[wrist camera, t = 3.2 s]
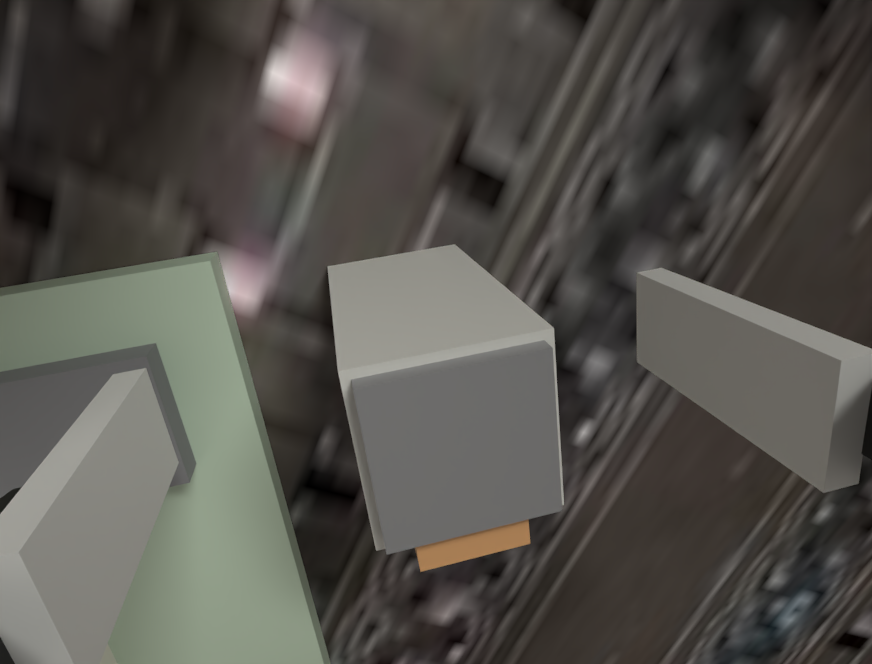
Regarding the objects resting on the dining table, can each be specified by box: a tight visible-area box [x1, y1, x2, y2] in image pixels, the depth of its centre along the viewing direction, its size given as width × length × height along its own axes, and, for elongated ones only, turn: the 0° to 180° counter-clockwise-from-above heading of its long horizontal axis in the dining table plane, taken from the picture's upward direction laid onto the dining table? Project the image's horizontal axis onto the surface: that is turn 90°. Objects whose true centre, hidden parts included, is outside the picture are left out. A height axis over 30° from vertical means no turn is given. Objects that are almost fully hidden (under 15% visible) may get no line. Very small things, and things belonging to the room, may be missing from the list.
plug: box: [327, 244, 564, 572], centre depth 15 cm, size 5×4×8 cm
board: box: [0, 252, 331, 664], centre depth 17 cm, size 18×16×4 cm
